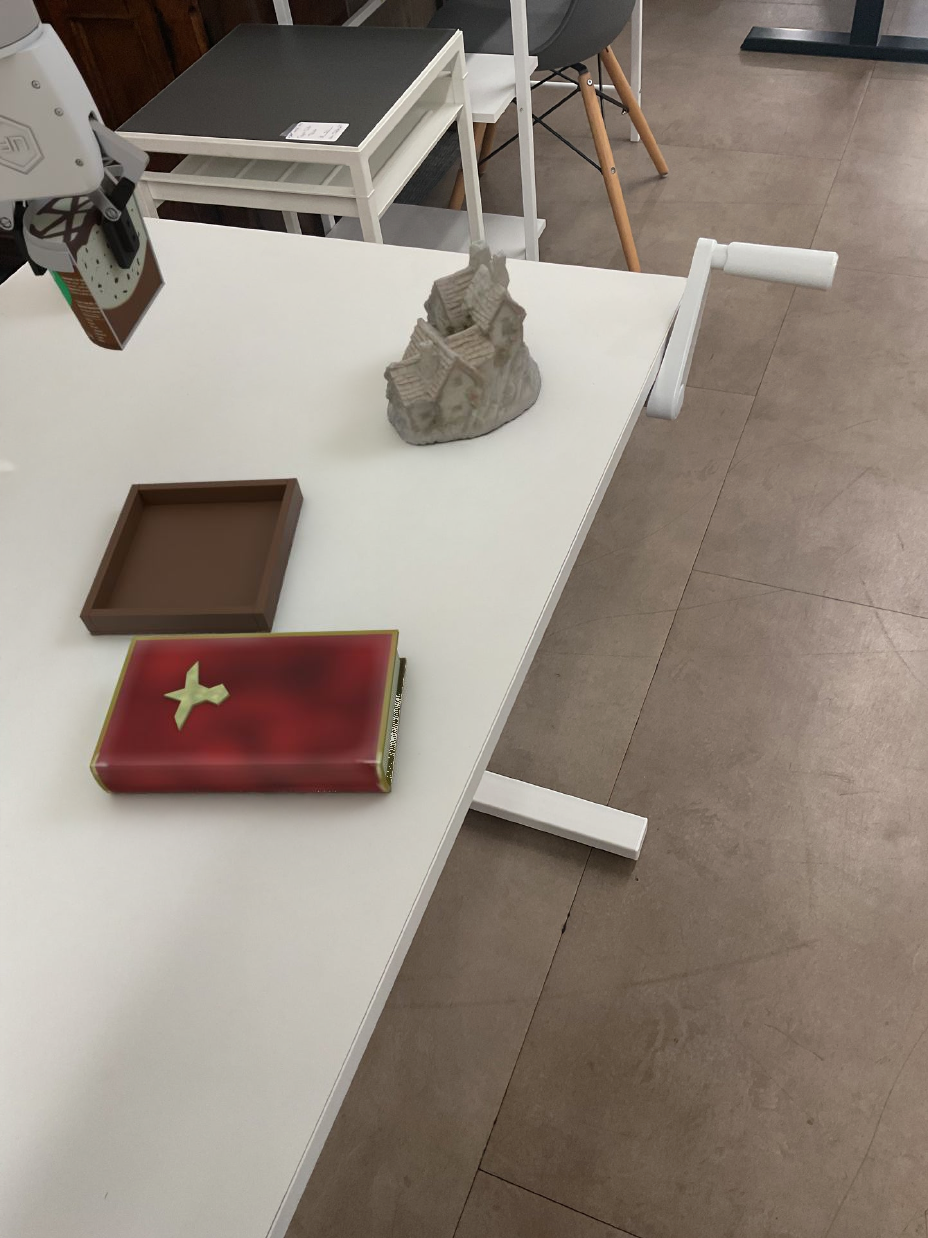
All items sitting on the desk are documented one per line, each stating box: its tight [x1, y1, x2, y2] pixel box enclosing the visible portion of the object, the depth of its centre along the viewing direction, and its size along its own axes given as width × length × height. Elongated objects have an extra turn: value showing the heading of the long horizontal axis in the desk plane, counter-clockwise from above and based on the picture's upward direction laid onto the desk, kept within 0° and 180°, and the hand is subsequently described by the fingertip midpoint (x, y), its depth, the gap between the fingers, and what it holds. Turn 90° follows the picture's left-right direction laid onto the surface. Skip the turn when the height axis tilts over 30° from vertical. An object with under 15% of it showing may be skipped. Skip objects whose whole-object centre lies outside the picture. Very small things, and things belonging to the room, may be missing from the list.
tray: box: [79, 477, 304, 636], centre depth 87 cm, size 16×16×2 cm
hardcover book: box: [89, 628, 407, 794], centre depth 75 cm, size 12×21×4 cm, turn 86°
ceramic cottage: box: [383, 238, 542, 446], centre depth 94 cm, size 16×16×15 cm
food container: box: [23, 164, 166, 352], centre depth 80 cm, size 12×6×10 cm, turn 169°
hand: (87, 261), depth 80 cm, fingers closed on food container, 6 cm apart
